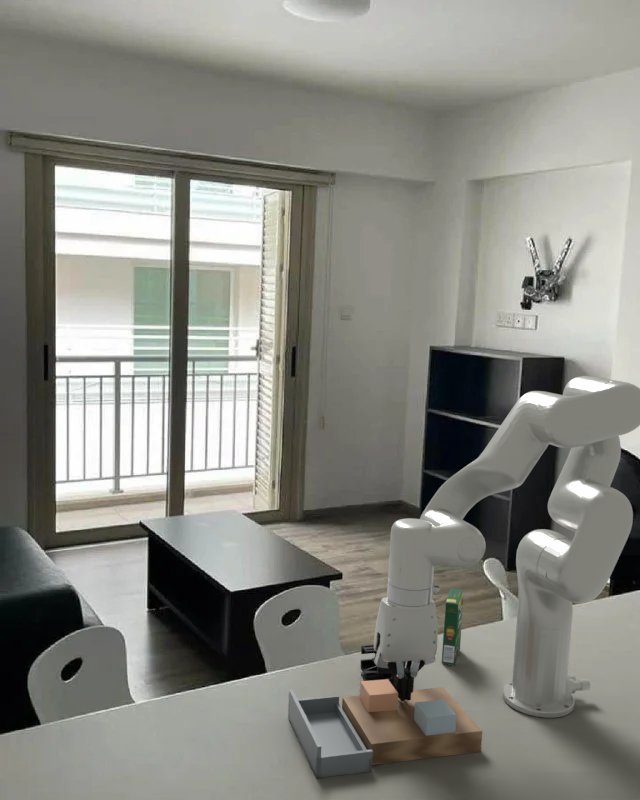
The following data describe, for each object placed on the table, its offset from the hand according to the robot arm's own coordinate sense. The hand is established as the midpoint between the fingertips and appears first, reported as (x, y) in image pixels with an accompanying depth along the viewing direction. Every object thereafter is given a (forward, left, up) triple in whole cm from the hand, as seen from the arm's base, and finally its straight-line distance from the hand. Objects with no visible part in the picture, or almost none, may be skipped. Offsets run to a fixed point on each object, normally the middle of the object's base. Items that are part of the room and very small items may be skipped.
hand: (402, 696), depth 140 cm
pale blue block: (-2, +8, -1) cm, 9 cm away
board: (0, +4, -4) cm, 6 cm away
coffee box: (-19, -22, -5) cm, 29 cm away
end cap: (-2, -14, -5) cm, 14 cm away
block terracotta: (+4, 0, -1) cm, 4 cm away
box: (+14, +4, -4) cm, 16 cm away
